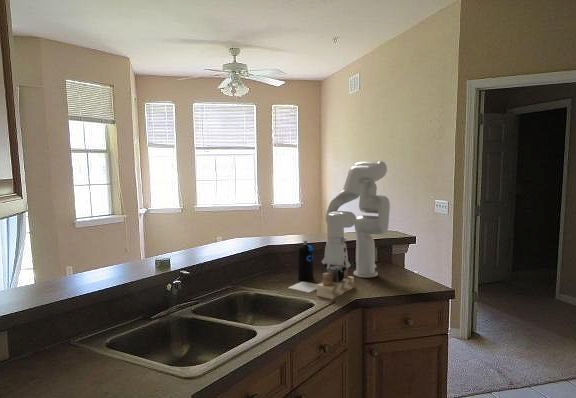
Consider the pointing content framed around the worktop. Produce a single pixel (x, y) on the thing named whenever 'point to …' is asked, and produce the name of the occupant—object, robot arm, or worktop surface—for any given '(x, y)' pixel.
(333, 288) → the cream pegged block
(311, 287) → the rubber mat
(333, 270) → the lever cap
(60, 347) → the worktop surface
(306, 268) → the aerosol can
